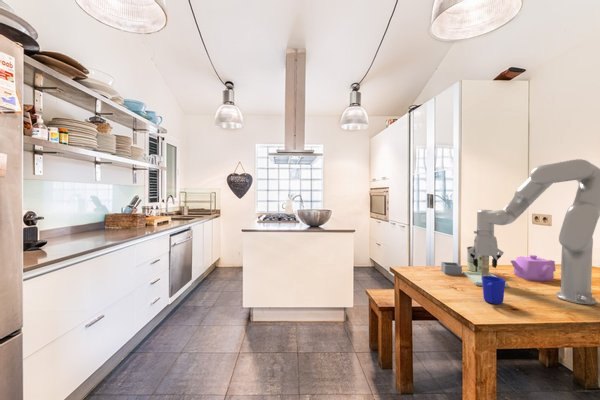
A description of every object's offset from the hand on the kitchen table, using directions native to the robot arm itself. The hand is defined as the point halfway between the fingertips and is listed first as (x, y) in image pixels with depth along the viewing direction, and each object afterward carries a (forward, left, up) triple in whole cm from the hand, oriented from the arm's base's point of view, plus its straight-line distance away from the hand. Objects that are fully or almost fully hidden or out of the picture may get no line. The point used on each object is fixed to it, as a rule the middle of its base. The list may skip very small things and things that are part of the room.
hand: (484, 266), depth 150 cm
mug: (-33, +9, -8) cm, 35 cm away
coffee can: (+20, -3, -8) cm, 22 cm away
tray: (+1, 0, -8) cm, 8 cm away
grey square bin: (+12, +13, -8) cm, 19 cm away
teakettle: (+13, -28, -8) cm, 32 cm away
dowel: (0, 0, -7) cm, 7 cm away
